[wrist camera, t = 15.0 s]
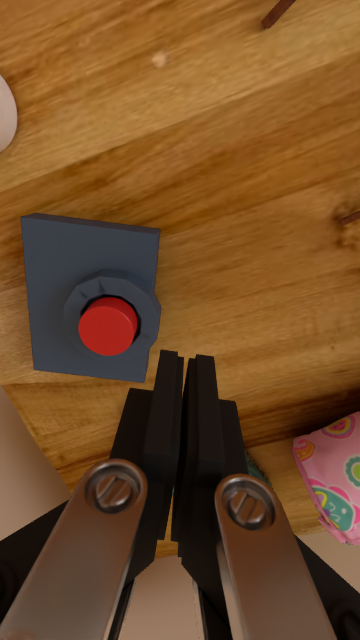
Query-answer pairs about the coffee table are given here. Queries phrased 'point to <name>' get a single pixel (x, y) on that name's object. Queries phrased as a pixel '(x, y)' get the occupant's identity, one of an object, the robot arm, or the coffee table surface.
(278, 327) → the coffee table surface
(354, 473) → the pencil case
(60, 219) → the button box
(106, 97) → the coffee table surface
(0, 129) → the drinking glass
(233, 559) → the robot arm
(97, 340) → the button
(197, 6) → the coffee table surface
